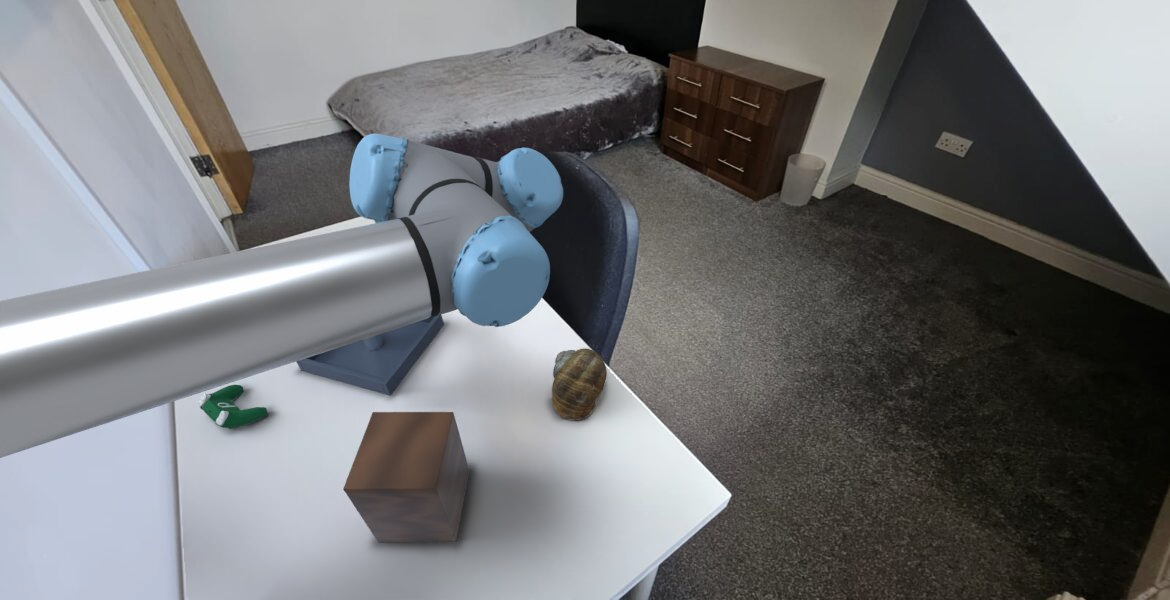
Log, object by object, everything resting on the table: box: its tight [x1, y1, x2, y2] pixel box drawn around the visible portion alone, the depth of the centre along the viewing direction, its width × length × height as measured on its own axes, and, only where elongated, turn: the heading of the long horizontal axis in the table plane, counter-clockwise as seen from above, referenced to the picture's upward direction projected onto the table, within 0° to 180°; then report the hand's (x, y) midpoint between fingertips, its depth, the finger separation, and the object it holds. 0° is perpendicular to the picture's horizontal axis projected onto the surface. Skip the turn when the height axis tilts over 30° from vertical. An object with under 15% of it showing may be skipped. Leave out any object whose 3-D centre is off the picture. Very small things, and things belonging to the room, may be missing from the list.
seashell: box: [551, 347, 608, 421], centre depth 76 cm, size 11×9×8 cm
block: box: [342, 411, 470, 543], centre depth 59 cm, size 10×10×14 cm
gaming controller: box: [198, 384, 269, 430], centre depth 73 cm, size 9×4×6 cm
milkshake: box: [362, 334, 384, 350], centre depth 82 cm, size 4×5×10 cm
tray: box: [295, 314, 445, 396], centre depth 84 cm, size 18×18×3 cm
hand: (400, 297), depth 72 cm, fingers open, 13 cm apart
